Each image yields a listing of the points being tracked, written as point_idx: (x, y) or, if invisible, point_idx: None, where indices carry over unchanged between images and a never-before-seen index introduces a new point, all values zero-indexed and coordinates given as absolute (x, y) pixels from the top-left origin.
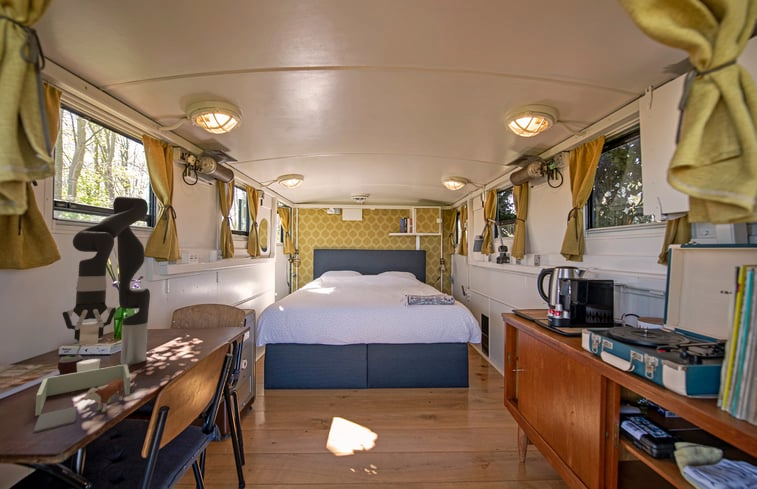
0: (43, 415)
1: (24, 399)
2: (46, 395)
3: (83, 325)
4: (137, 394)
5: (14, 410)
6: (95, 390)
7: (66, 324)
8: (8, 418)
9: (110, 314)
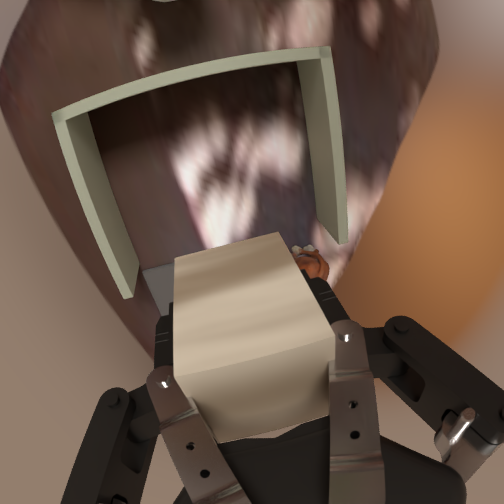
0: (155, 283)
1: (39, 118)
2: (89, 126)
3: (235, 438)
4: None
5: (59, 203)
6: None
7: (124, 456)
8: (77, 253)
9: (437, 425)
